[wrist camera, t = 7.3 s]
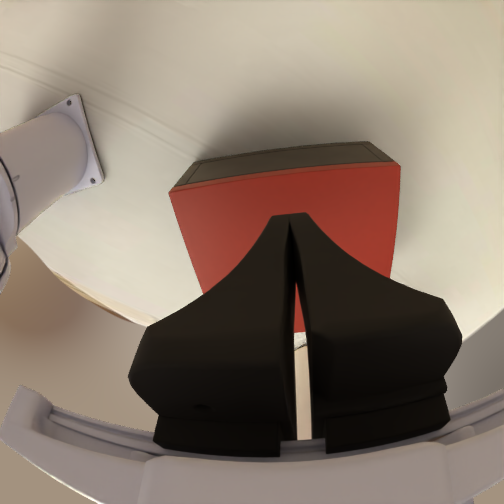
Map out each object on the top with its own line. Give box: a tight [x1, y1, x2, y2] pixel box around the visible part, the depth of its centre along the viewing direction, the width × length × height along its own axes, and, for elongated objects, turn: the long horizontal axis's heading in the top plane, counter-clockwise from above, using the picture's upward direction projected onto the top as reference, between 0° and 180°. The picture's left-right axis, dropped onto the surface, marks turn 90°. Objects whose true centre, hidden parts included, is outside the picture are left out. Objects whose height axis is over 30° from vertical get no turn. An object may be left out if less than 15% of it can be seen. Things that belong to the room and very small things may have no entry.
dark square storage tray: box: [174, 141, 394, 187], centre depth 20 cm, size 12×13×5 cm
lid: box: [169, 162, 401, 333], centre depth 18 cm, size 12×13×1 cm
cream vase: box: [294, 346, 311, 440], centre depth 25 cm, size 7×7×15 cm
